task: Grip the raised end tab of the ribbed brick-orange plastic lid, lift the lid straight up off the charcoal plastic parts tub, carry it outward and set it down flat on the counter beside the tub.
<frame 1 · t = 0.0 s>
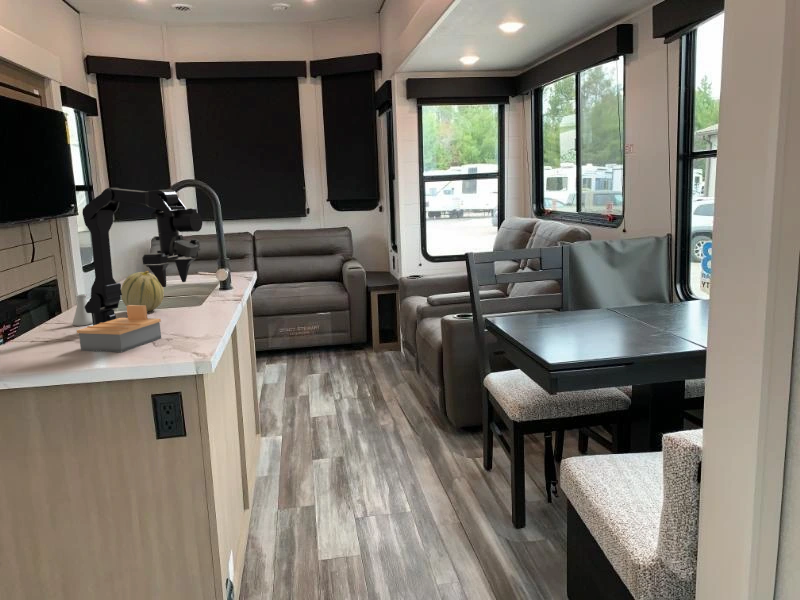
hand: (174, 284, 190), 15 cm above the table, fingers open, 9 cm apart
flask: (85, 324, 213), on the table
lid: (120, 327, 179), point 5 cm above the table, touching tub
tub: (122, 344, 180), on the table
cantaloupe: (144, 312, 230), on the table
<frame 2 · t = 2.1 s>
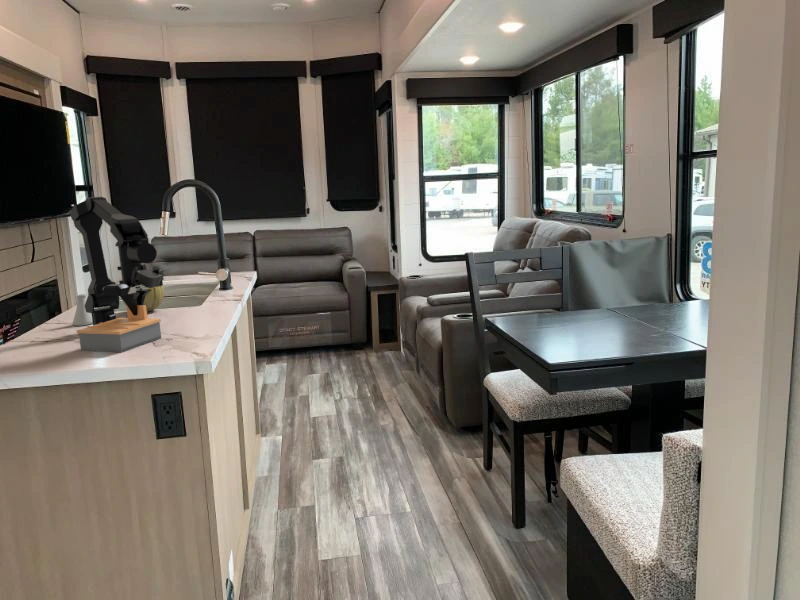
hand: (137, 314, 186), 7 cm above the table, fingers closed on lid
lid: (120, 327, 179), point 5 cm above the table, touching gripper, tub
everything else where it was.
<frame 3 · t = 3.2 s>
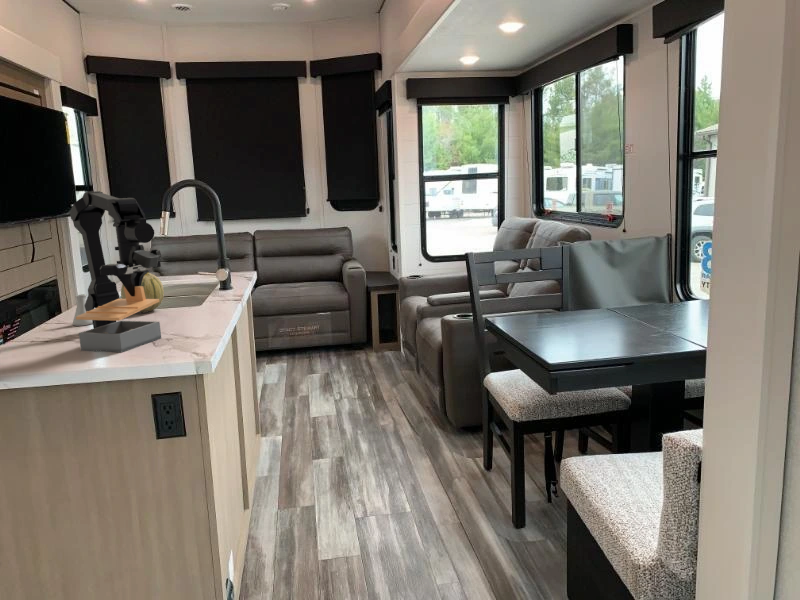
hand: (135, 295, 185), 13 cm above the table, fingers closed on lid
lid: (119, 310, 179), point 10 cm above the table, tilted 7°, touching gripper
everything else where it was.
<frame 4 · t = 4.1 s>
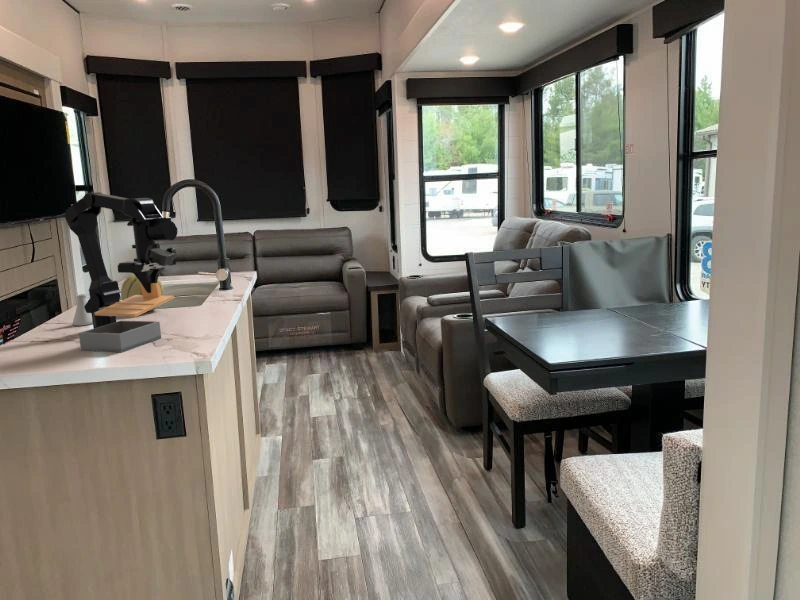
hand: (151, 292, 191), 13 cm above the table, fingers closed on lid
lid: (135, 306, 186), point 9 cm above the table, tilted 8°, touching gripper
everything else where it was.
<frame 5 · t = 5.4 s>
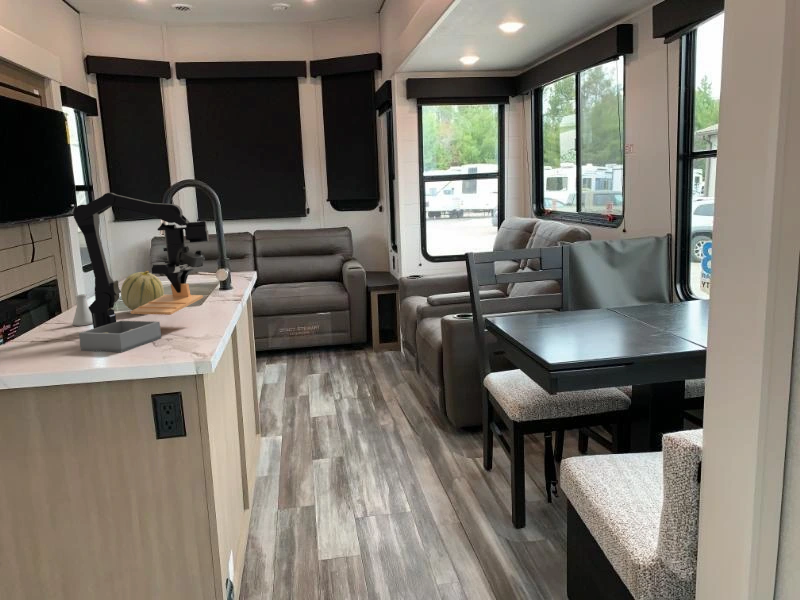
hand: (180, 292, 205), 10 cm above the table, fingers closed on lid
lid: (168, 305, 199), point 7 cm above the table, tilted 8°, touching gripper
everything else where it was.
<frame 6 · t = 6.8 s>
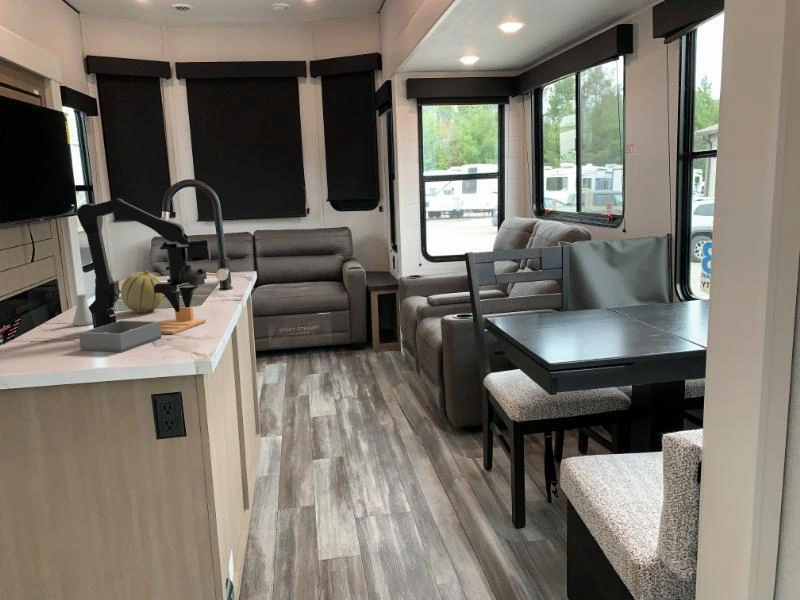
hand: (182, 310, 206), 4 cm above the table, fingers open, 5 cm apart
lid: (170, 327, 200), on the table
everything else where it was.
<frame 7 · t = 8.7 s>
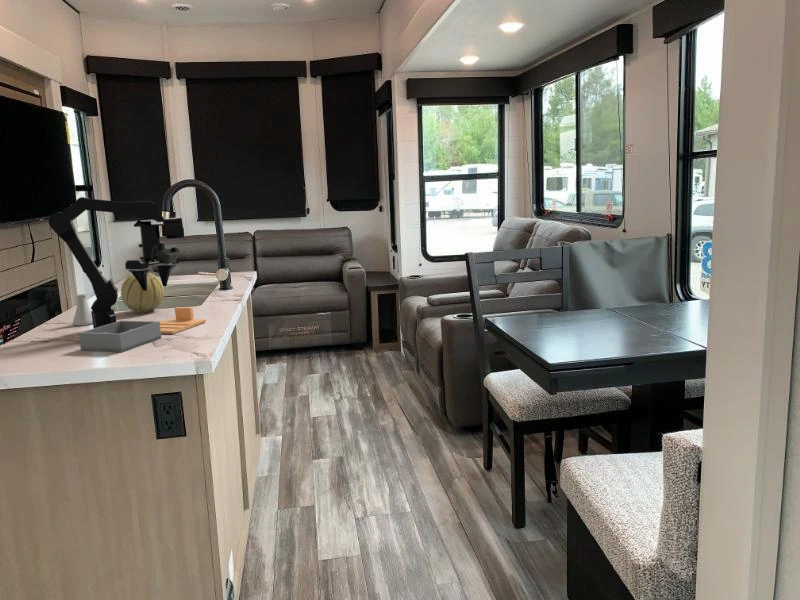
hand: (155, 288, 206), 12 cm above the table, fingers open, 9 cm apart
nothing on the table moved.
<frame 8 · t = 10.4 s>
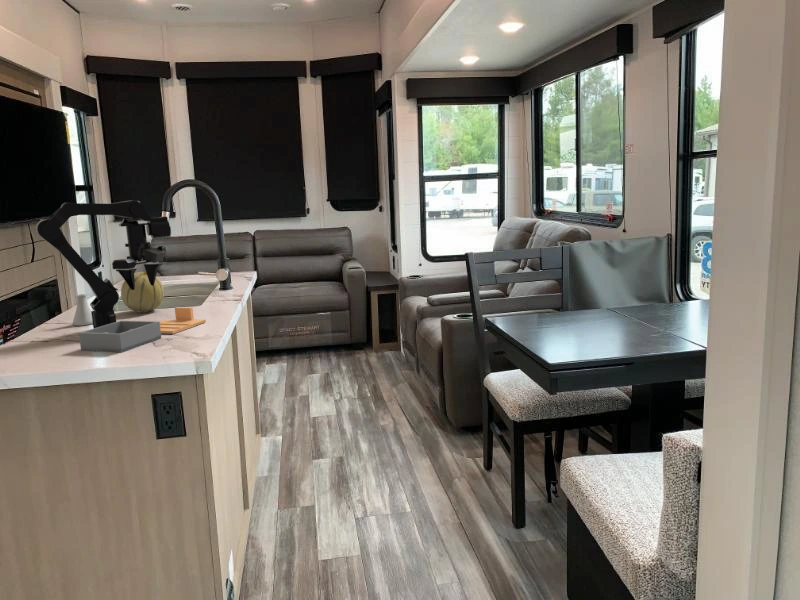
hand: (143, 287, 207), 12 cm above the table, fingers open, 9 cm apart
nothing on the table moved.
at the end: lid touching table; lid inside the target area (0.1 cm from its centre), on the table; lid moved 21.7 cm from its start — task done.
